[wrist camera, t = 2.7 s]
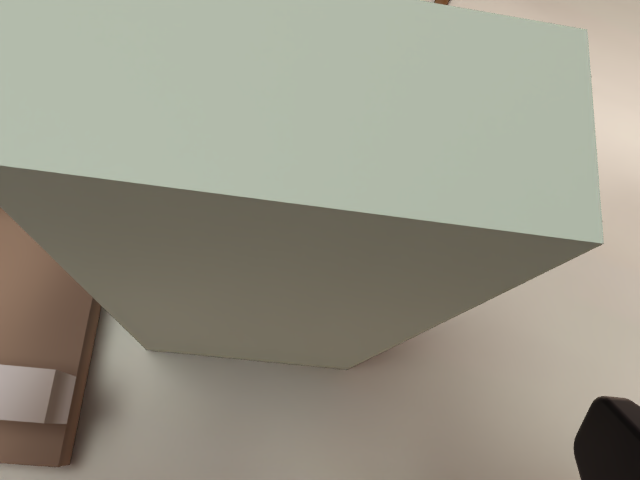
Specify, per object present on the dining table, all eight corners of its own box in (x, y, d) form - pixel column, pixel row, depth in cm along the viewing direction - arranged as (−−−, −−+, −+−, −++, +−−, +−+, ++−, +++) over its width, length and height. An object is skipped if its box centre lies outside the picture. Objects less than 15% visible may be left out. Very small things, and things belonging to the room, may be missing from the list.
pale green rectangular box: (352, 289, 19) (587, 29, 7) (347, 369, 18) (603, 244, 6) (160, 268, 18) (21, -69, 6) (146, 349, 17) (-49, 159, 5)
